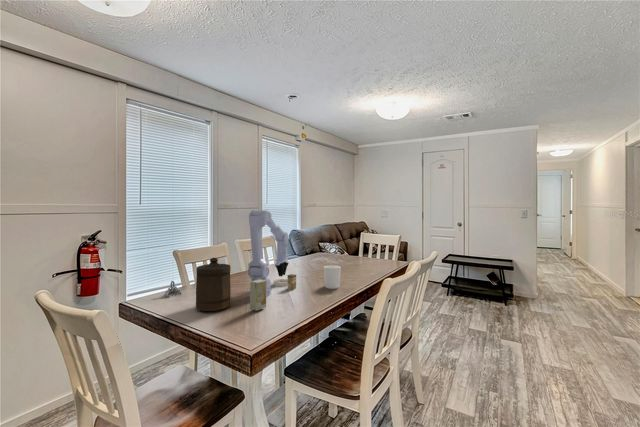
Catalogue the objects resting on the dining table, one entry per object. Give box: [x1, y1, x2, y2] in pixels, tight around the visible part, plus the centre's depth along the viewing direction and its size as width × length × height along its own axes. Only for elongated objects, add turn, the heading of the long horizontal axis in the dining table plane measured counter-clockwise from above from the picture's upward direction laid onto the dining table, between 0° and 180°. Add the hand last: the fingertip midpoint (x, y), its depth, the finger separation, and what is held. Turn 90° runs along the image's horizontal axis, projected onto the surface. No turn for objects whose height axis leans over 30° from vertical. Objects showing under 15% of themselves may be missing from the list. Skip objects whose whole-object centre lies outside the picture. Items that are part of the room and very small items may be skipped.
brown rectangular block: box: [287, 273, 297, 291], centre depth 163 cm, size 4×4×8 cm
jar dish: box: [272, 278, 288, 287], centre depth 173 cm, size 9×9×2 cm
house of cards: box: [163, 280, 182, 299], centre depth 153 cm, size 9×9×8 cm
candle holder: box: [323, 264, 342, 290], centre depth 167 cm, size 10×10×12 cm
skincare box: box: [249, 279, 267, 311], centre depth 131 cm, size 6×4×12 cm
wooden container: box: [195, 257, 231, 312], centre depth 134 cm, size 15×15×22 cm
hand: (281, 275), depth 173 cm, fingers open, 4 cm apart
